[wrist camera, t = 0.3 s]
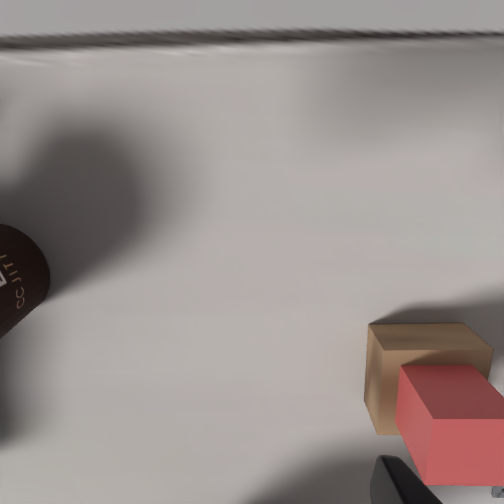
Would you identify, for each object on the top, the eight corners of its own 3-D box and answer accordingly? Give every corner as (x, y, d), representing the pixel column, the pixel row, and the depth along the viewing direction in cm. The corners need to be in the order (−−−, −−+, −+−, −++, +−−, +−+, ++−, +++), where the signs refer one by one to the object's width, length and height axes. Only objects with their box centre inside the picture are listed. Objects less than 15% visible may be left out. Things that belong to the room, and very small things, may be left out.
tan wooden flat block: (451, 399, 23) (477, 435, 20) (363, 400, 23) (377, 434, 20) (463, 323, 21) (493, 349, 18) (368, 324, 22) (383, 350, 19)
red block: (462, 421, 20) (509, 486, 16) (394, 421, 20) (424, 484, 16) (472, 364, 19) (524, 419, 15) (400, 365, 19) (433, 419, 15)
